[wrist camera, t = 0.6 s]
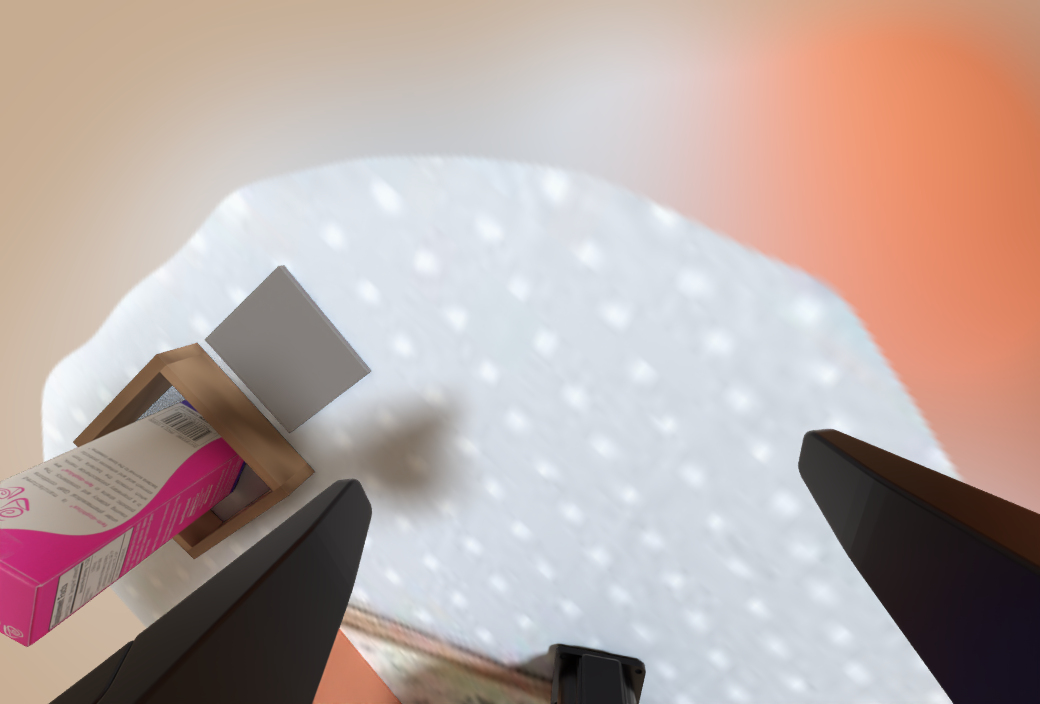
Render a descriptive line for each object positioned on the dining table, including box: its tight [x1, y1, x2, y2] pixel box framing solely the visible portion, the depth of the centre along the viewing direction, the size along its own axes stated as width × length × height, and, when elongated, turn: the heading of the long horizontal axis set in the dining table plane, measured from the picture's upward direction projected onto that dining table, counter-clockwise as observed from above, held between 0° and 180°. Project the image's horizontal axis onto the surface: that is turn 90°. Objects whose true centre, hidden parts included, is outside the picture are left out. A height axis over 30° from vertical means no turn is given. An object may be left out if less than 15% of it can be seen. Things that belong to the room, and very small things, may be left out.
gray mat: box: [205, 265, 371, 433], centre depth 23 cm, size 8×8×1 cm
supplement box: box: [0, 400, 246, 647], centre depth 22 cm, size 6×6×12 cm
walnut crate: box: [73, 343, 314, 559], centre depth 26 cm, size 12×12×2 cm
